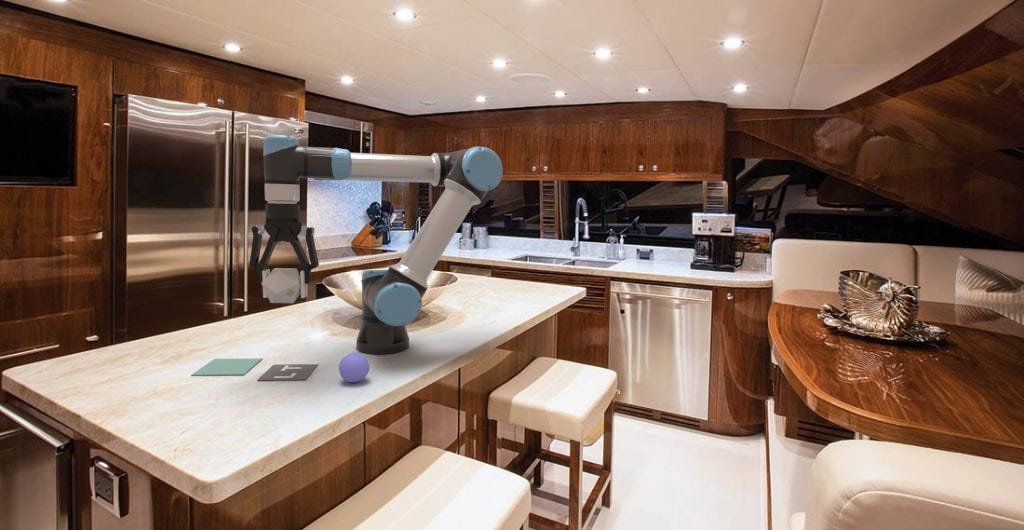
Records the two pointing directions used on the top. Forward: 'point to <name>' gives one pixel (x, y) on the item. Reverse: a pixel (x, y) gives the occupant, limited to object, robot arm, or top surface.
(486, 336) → the top surface
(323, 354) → the top surface
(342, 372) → the sphere
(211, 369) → the mat
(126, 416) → the top surface
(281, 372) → the tile
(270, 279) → the die
